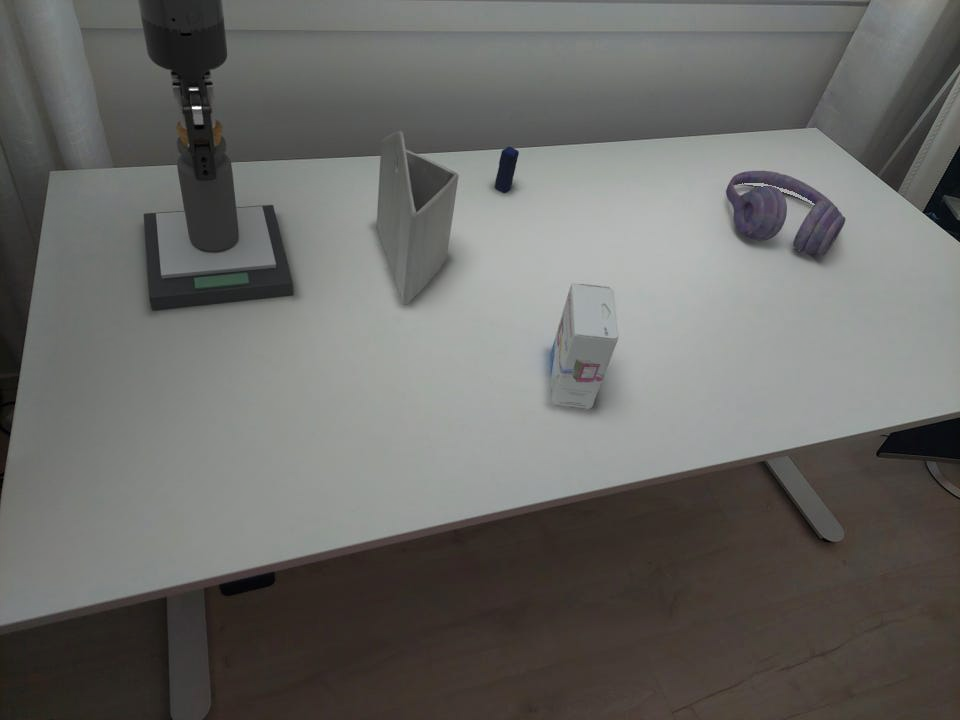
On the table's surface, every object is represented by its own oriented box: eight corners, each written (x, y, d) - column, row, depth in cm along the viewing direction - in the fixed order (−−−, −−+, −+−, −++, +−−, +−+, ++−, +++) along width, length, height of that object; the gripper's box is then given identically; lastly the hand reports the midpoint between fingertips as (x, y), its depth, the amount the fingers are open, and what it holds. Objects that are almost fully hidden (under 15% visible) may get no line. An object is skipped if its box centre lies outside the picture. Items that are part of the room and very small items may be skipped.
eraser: (492, 188, 111) (500, 149, 106) (501, 183, 112) (509, 144, 107) (503, 195, 110) (512, 156, 105) (512, 189, 112) (520, 150, 107)
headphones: (839, 272, 109) (818, 218, 125) (867, 224, 104) (841, 174, 120) (721, 239, 110) (715, 190, 126) (743, 190, 105) (734, 145, 121)
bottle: (214, 216, 91) (199, 107, 81) (249, 236, 90) (239, 127, 79) (178, 237, 88) (158, 125, 77) (214, 258, 86) (198, 146, 75)
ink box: (547, 352, 88) (571, 279, 80) (587, 357, 89) (614, 285, 80) (549, 405, 82) (575, 332, 74) (592, 410, 83) (622, 339, 74)
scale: (152, 311, 83) (148, 293, 81) (146, 227, 93) (142, 209, 91) (293, 296, 88) (292, 278, 86) (273, 217, 98) (272, 200, 96)
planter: (462, 299, 92) (486, 169, 78) (402, 306, 90) (416, 172, 76) (430, 223, 102) (446, 95, 89) (375, 226, 100) (383, 96, 86)
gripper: (137, -22, 72) (164, 130, 84) (142, 43, 63) (171, 202, 76) (215, -19, 75) (231, 128, 87) (231, 43, 66) (246, 197, 78)
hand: (203, 162), depth 81 cm, fingers closed on bottle, 5 cm apart
